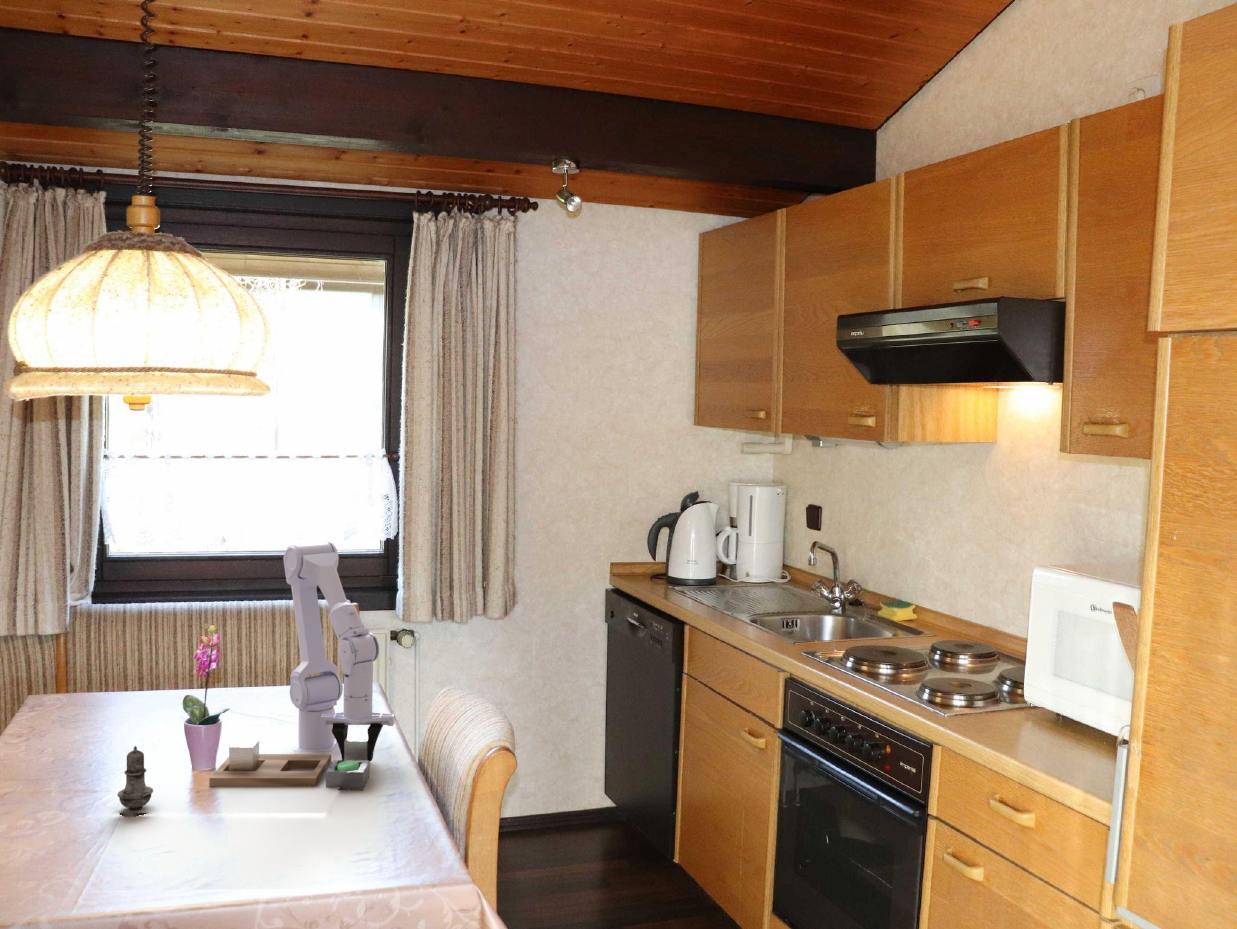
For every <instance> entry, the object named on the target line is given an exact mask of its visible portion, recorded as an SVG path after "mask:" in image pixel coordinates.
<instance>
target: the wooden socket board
mask: <svg viewBox="0 0 1237 929" xmlns="http://www.w3.org/2000/svg"><path fill="white" fill-rule="evenodd" d="M331 764H332V754H331V753H325V754H324V753H259V769H258V770H257V771H229V756H228V757H227V759H225V760H224V762H223V763H221V765H220V766H219V767H218V768H217V769H216V770H215V771H214V772H213V774H211V775H210V777H209V782H208V784H209V786H208V787H213V788H215V787H222V788H223V787H227V788H228V787H231V788H232V787H238V788H239V787H243V788H244V787H247V788H248V787H251V788H252V787H257V788H258V787H266V788H267V787H268V788H269V787H270V788H271V787H279V788H280V787H282V788H283V787H284V788H285V787H290V788H292V787H297V788H298V787H300V788H301V787H302V788H303V787H310V788H311V787H312V788H314V787H317V786H318V784H319V783H320V780H321V779H322V777H323V776H324V774H326V772H327V770H328V768H329V767H330V765H331Z"/></svg>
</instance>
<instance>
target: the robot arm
mask: <svg viewBox="0 0 1237 929" xmlns="http://www.w3.org/2000/svg"><path fill="white" fill-rule="evenodd" d="M339 559H340V558H339V554H338V549H337V548H336V545H335V544H334V543H333V542H332V541H330V540H326V541H322V542H313V543H312V542H310V543H300V544H299V543H297V544H296V543H292V544H289V545H288V547H287V548H286V550H285V553H284V555H283V566H284V574H285V578H286V579H285V581H286V584H288V585H290V586H291V587H290V588H291V594H292V602H293V610H294V619H295V625H296V626H295V627H296V631H297V640H298V648H299V656H300V664H299V665H298V666H297V667H296V668H295V669H294V670H293V671H292V672H291V673H290V674H289V676H290V685H289V686H290V687H289V697H290V700H291V701H290V702H291V703H292V705H293V706H294V707H295V708H296V709H298V743H297V745H296V746H295V747H294V748H293V750H292V751H293V752H294V751H295V752H310V751H311V752H330V751H331V752H332V750H333V748H334V747H335V745H336V744H337V746H338V748H339V751H340V755H341V756H340V757H341V760H344V741H345V739H346V738H347V736H348V735H349V733H348V732H349V726H354V725H355V726H368V728H367V734H368V760H369V761H371V762H372V761H373V758H374V751H375V749H376V748H375V747H376V744H377V741H378V740H379V739H378V738H379V736H380V733H381V731H382V728H383V727H384V726H387V727H394V724H395V715H396V714H394V713H385V712H375V711H374V712H373V693H374V692H373V689H374V688H373V686H374V685H373V684H374V683H373V682H374V674H373V672H374V668H373V667H374V664H373V663H374V662H375V661H377V659H378V658H379V657H378V656H379V654H380V646H379V642H378V638H377V636H376V635H375V634H374V633H373V632H371V631H370V629H368V628H367V629H366V628H365V626H364V623H363V620H362V618H361V617H360V614H359V612H358V610H357V607H356V606H355V605H354V604H352V603H350V602H348V600H347V597H346V593H345V591H344V589H343V586H342V582H341V578H340V575H339V573H338V567H339V561H340V560H339ZM317 587H319V589H320V592H321V594H322V595H323V596H324V599H325V600H326V602H327V604H328V606H329V608H330V609H331V610H330V612H329V615H328V619H329V621H330V624H331V626H332V629H333V631H334V633H335V635H336V637H337V641H338V642H339V647H338V649H337V653H338V658H339V661H340V670H341V673H343V680H342V679H341V677H340V674H339V670H338V665H336V664H335V663H333V662H331V661H329V660H328V659H327V657H326V649H325V643H324V636H323V628H322V621H321V620H322V619H321V611H320V606H319V605H320V604H319V599H318V591H317ZM315 674H319V675H315ZM310 675H313V676H310ZM342 681H343V682H342ZM342 694H343V712H336V709H335V708H334V707H335V706H337V704H338V703H337V702H338V701H339V700H340V699H341V697H342Z"/></svg>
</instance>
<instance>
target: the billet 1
mask: <svg viewBox="0 0 1237 929" xmlns="http://www.w3.org/2000/svg"><path fill="white" fill-rule="evenodd" d="M259 754H260V740H259V739H236V740H235V741H234V742H232V744H230V746H229V747H228V757H229V771H257V770H258V769H259Z"/></svg>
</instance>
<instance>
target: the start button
mask: <svg viewBox="0 0 1237 929" xmlns="http://www.w3.org/2000/svg"><path fill="white" fill-rule="evenodd" d="M358 769H359V763H358V762H355V761H345V762H341V763H339V764H338V770H358Z"/></svg>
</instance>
